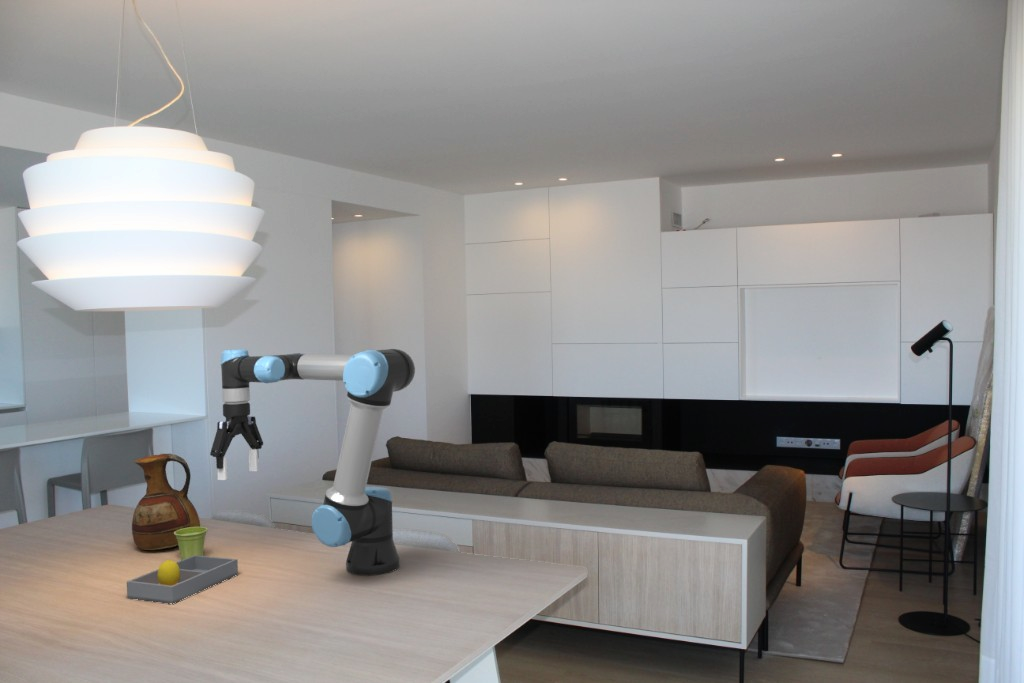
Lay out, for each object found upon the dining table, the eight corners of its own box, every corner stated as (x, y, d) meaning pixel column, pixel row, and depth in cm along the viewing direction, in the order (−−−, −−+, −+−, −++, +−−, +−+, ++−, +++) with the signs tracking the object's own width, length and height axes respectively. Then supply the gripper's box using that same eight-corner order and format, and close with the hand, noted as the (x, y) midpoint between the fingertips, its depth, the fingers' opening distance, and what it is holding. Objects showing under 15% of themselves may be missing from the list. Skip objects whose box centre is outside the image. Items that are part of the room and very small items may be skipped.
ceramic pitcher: (132, 543, 267) (129, 452, 266) (198, 535, 275) (195, 446, 274) (132, 558, 249) (129, 461, 248) (203, 549, 257) (199, 455, 256)
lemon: (153, 591, 215) (152, 561, 214) (170, 585, 219) (169, 555, 219) (167, 594, 212) (166, 563, 212) (185, 587, 217) (184, 557, 217)
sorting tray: (237, 575, 230) (237, 559, 230) (172, 604, 207) (172, 587, 207) (195, 570, 235) (194, 555, 235) (127, 598, 212) (126, 581, 212)
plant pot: (186, 565, 241) (185, 536, 240) (168, 560, 246) (167, 531, 246) (214, 557, 248) (213, 529, 248) (197, 552, 254) (196, 525, 253)
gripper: (253, 398, 250) (255, 467, 250) (195, 406, 227) (197, 483, 227) (273, 398, 247) (276, 468, 248) (217, 407, 224) (219, 484, 224)
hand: (238, 475), depth 237 cm, fingers open, 13 cm apart
